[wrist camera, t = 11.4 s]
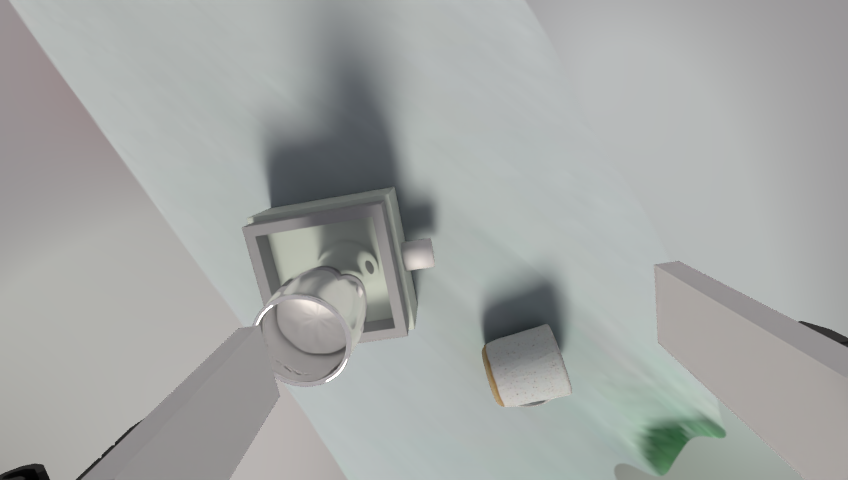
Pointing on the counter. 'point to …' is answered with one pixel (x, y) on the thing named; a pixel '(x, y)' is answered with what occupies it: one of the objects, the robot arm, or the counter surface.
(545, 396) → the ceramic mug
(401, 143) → the counter surface
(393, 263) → the grey box with knob
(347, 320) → the beer glass
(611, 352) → the counter surface
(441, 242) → the counter surface
